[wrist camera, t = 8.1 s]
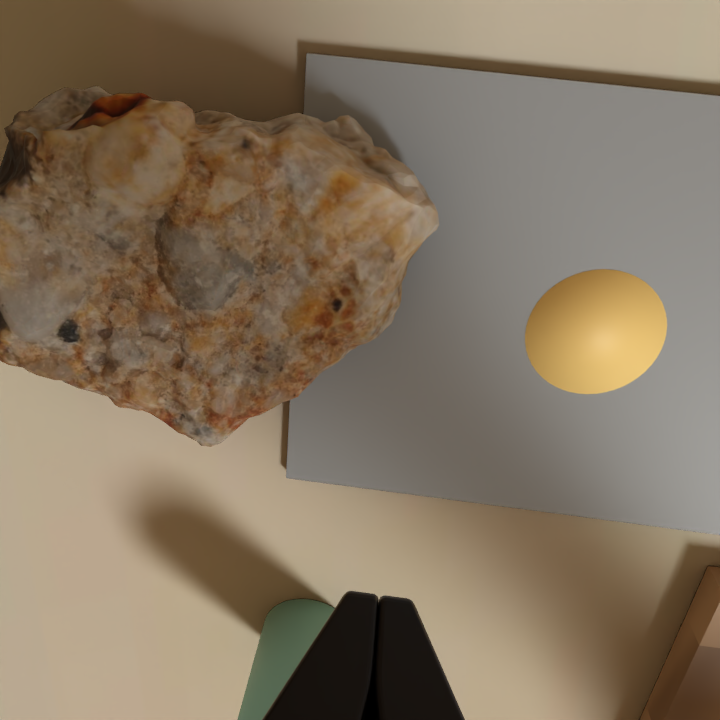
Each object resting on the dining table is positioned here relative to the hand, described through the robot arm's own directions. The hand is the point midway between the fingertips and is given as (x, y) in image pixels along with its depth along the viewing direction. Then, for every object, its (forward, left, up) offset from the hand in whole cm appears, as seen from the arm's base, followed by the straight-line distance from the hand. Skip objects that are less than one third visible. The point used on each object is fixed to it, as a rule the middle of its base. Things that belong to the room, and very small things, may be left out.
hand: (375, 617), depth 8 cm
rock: (+5, -1, -11) cm, 12 cm away
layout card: (-5, 0, -11) cm, 12 cm away
